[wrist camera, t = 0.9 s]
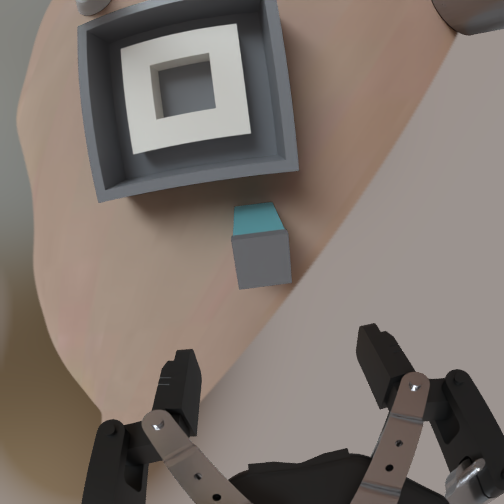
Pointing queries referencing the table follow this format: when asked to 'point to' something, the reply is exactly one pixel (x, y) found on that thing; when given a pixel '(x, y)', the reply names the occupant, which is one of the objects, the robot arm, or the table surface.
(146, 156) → the walled box
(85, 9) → the chalice
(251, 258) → the peg
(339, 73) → the table surface
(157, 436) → the robot arm
